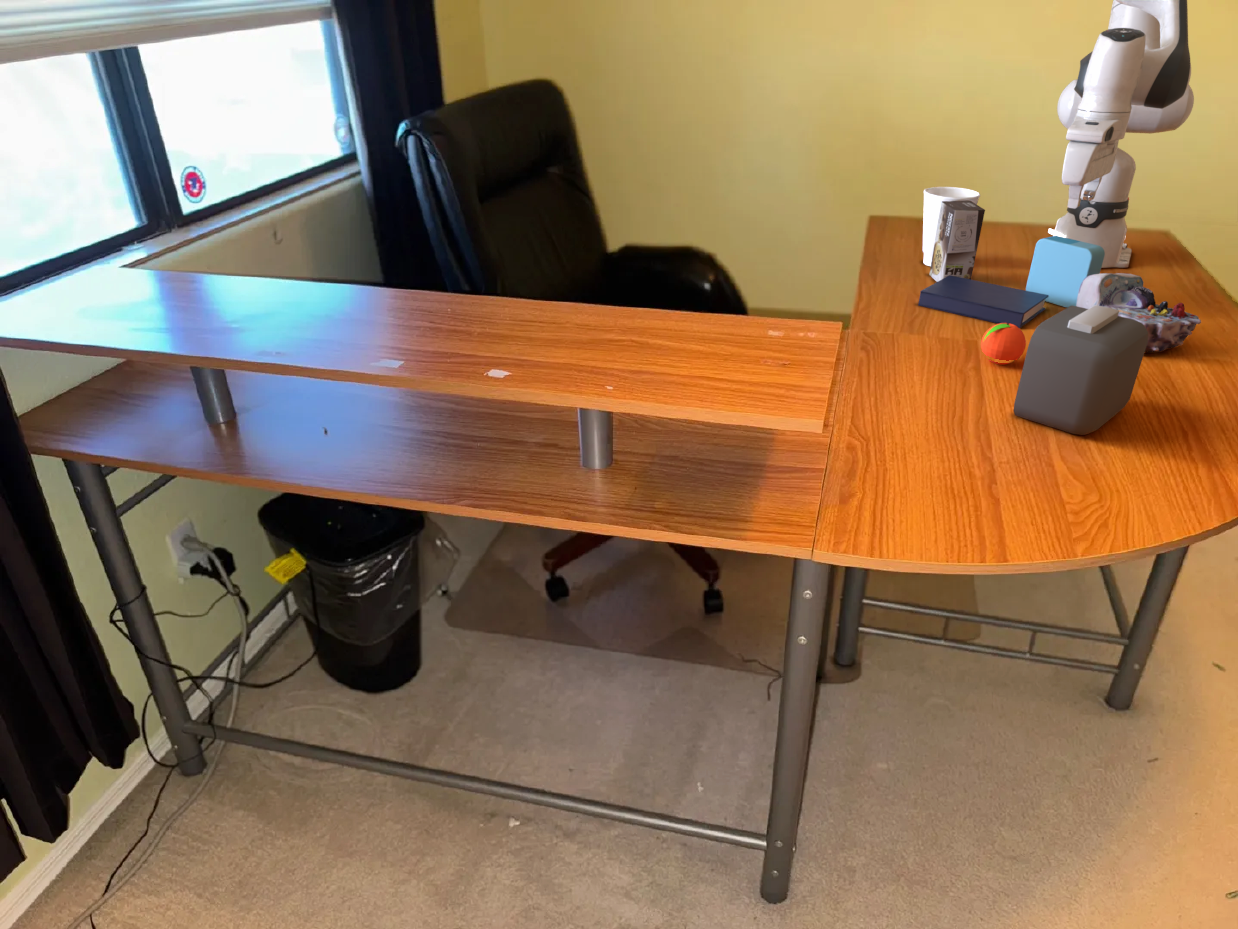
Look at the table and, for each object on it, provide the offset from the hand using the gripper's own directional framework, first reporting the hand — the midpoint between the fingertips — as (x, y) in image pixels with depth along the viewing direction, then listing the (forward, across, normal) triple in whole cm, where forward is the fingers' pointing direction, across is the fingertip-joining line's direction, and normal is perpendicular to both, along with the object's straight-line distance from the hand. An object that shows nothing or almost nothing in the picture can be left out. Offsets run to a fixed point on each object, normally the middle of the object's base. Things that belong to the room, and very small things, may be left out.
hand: (1080, 203), depth 169 cm
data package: (+20, 0, 0) cm, 20 cm away
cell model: (+20, +14, +16) cm, 29 cm away
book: (+20, +14, -10) cm, 26 cm away
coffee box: (+19, +1, -22) cm, 29 cm away
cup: (+19, -10, -29) cm, 36 cm away
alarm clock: (+20, +54, +19) cm, 60 cm away
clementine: (+20, +41, +3) cm, 45 cm away
